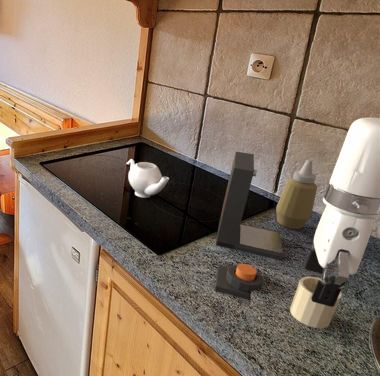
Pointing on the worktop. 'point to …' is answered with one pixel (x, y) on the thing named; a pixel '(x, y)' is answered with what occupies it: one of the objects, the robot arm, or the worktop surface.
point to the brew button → (246, 272)
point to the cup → (311, 305)
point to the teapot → (146, 179)
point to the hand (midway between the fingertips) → (317, 286)
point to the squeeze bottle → (297, 198)
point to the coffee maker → (233, 211)
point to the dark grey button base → (236, 282)
